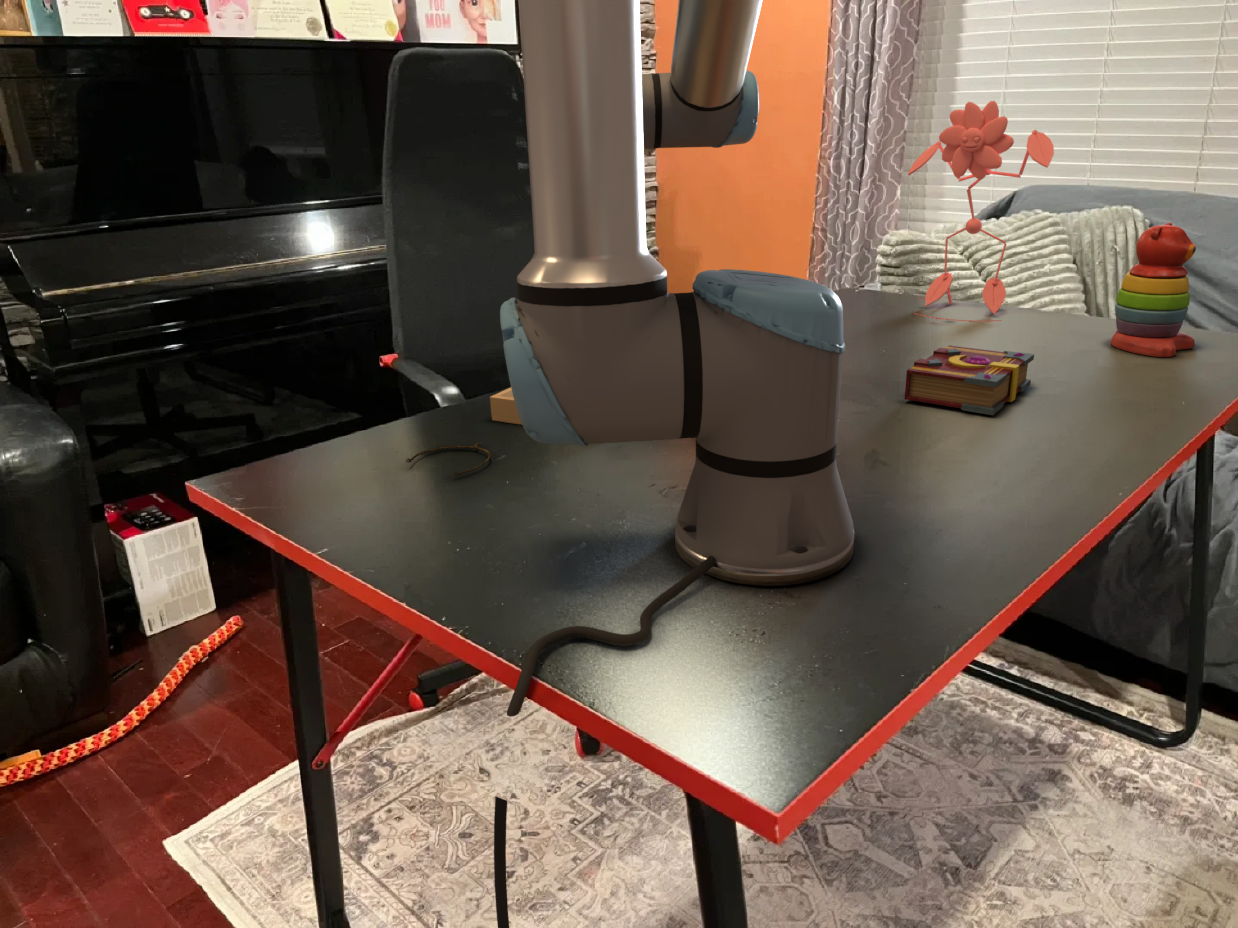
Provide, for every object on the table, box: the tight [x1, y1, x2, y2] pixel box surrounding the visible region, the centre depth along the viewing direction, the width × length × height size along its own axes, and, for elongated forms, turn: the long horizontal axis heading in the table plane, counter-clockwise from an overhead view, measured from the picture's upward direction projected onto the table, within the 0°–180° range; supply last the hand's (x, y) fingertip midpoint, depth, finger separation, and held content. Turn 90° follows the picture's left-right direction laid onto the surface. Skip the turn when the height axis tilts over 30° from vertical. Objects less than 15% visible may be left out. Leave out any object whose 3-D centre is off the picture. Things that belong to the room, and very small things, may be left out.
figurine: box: [907, 100, 1055, 323], centre depth 155 cm, size 15×26×35 cm, turn 43°
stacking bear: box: [1110, 222, 1197, 358], centre depth 133 cm, size 11×10×18 cm
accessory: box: [405, 441, 492, 476], centre depth 101 cm, size 9×9×1 cm
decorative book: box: [904, 345, 1035, 416], centre depth 116 cm, size 11×16×5 cm
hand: (594, 382), depth 118 cm, fingers closed on poké ball, 7 cm apart
